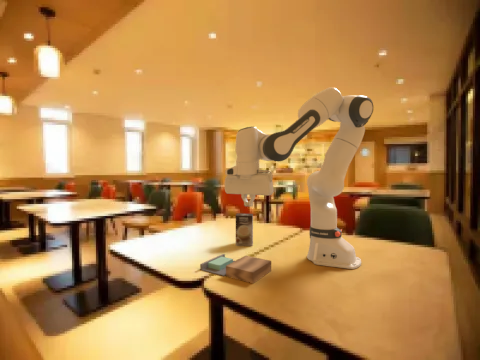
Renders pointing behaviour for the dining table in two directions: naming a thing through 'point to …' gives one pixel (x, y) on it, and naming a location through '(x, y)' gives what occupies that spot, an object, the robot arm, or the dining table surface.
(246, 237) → the coffee box
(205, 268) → the tray
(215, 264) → the pale green rectangular block
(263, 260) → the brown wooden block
